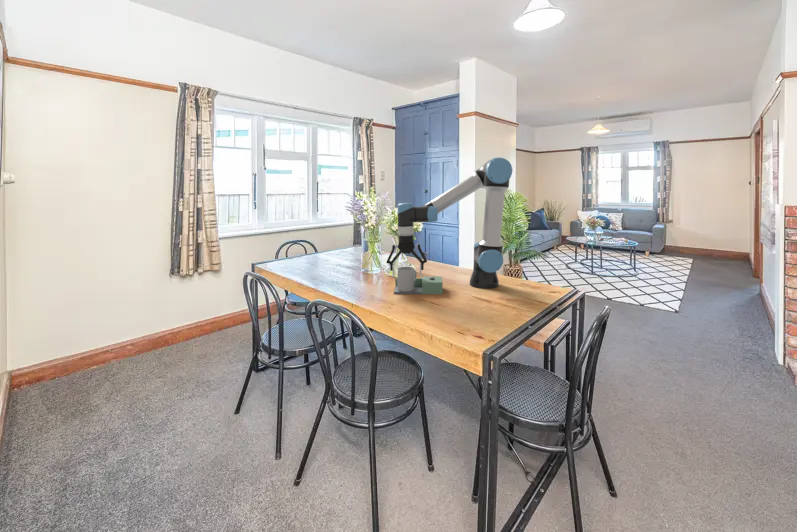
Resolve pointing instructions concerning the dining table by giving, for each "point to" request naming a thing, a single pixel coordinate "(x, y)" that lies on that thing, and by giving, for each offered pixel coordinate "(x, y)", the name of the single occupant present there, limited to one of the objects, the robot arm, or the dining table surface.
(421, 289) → the green stepped block
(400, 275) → the mug
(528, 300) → the dining table surface
